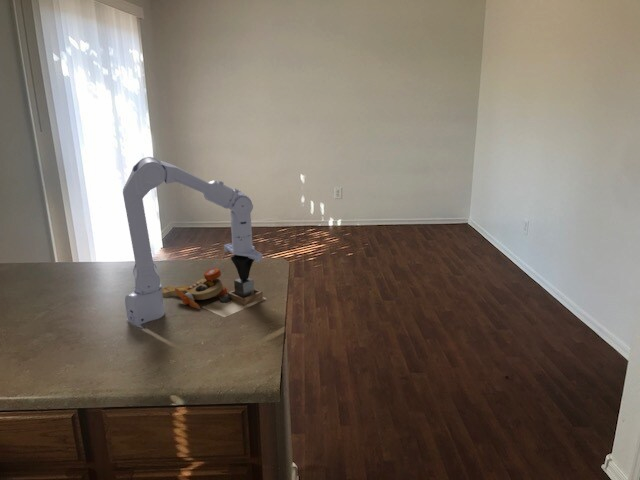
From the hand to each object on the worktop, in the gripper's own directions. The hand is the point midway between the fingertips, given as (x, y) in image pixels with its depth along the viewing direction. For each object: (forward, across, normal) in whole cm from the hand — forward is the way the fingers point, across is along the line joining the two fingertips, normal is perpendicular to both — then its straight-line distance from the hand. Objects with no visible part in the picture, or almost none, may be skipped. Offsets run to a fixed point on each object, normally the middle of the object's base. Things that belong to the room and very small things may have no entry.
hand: (244, 279), depth 149 cm
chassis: (+7, 0, +4) cm, 8 cm away
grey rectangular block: (+6, 0, 0) cm, 6 cm away
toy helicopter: (+3, +16, +4) cm, 16 cm away
